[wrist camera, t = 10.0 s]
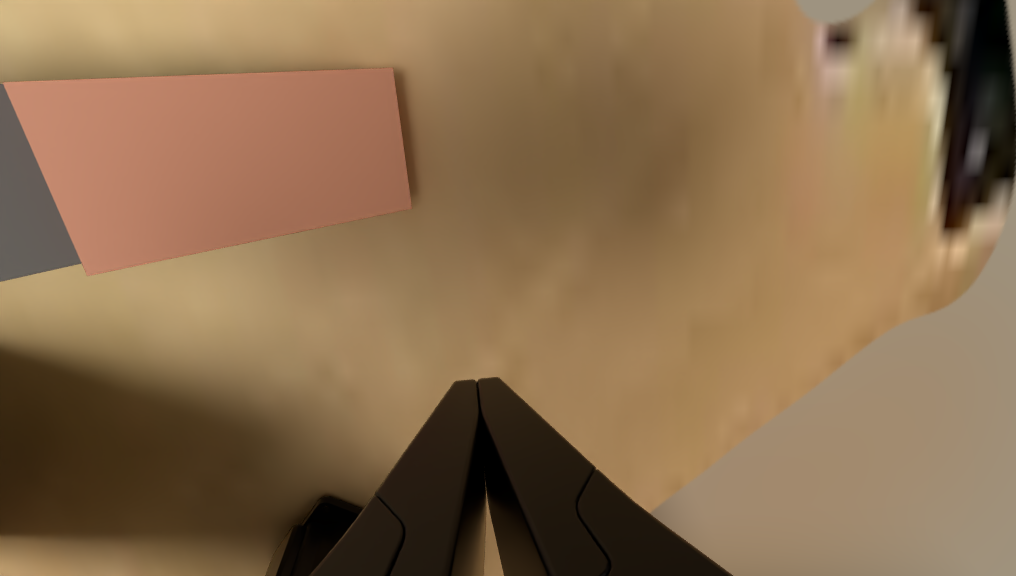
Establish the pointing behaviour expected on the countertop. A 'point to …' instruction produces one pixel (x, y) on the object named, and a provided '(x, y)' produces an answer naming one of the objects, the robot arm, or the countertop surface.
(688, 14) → the countertop surface
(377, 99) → the domino
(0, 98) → the domino
